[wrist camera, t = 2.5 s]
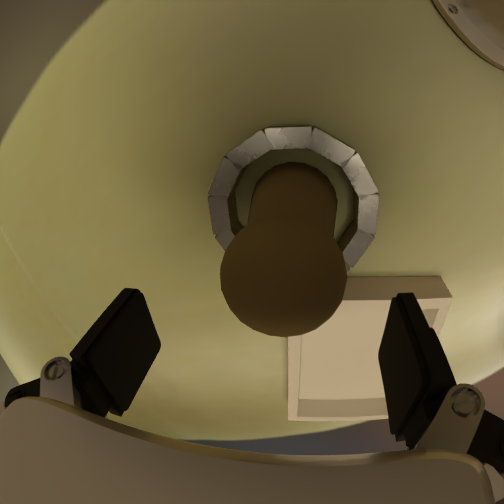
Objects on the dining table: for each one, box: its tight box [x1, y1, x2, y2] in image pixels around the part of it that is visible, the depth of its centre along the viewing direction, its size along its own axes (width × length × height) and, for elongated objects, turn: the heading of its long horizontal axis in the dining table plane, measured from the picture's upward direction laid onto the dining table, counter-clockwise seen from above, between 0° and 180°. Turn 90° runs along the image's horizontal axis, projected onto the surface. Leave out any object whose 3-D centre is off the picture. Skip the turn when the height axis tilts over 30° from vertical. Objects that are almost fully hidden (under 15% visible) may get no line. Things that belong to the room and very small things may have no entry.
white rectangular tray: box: [288, 276, 453, 421], centre depth 24 cm, size 18×13×3 cm
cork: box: [220, 162, 347, 337], centre depth 15 cm, size 6×6×11 cm
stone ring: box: [208, 125, 379, 272], centre depth 19 cm, size 11×11×2 cm
